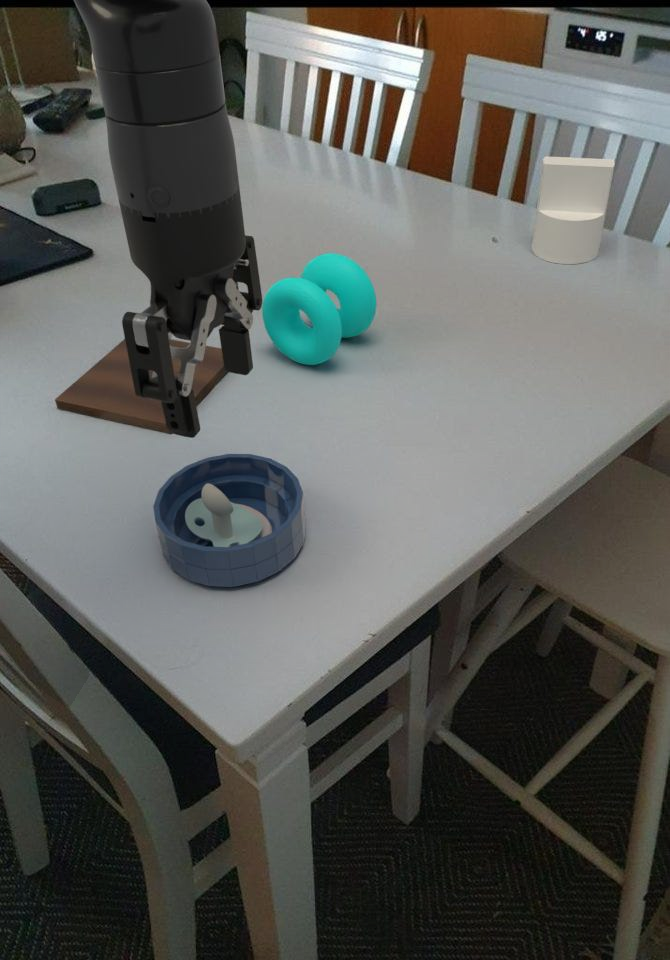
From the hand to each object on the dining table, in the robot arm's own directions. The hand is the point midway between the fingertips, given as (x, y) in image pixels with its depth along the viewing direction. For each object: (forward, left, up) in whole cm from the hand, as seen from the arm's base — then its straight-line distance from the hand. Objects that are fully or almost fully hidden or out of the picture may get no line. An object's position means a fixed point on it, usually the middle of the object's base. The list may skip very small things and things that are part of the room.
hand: (213, 401), depth 61 cm
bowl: (0, 0, -14) cm, 14 cm away
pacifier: (0, 0, -14) cm, 14 cm away
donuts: (+32, +5, -14) cm, 35 cm away
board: (+19, +20, -14) cm, 31 cm away
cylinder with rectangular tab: (+67, -17, -14) cm, 71 cm away
